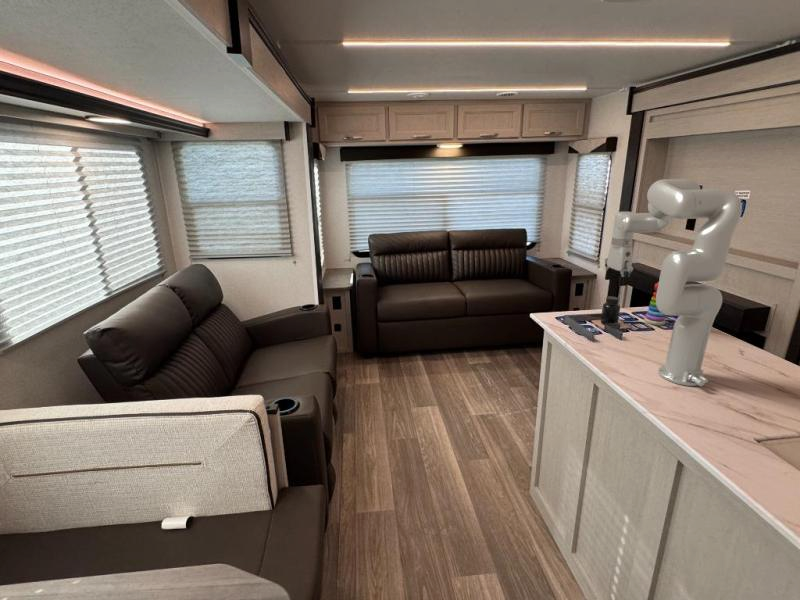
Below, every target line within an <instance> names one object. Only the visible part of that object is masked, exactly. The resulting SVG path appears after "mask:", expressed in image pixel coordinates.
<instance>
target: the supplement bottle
mask: <svg viewBox="0 0 800 600" xmlns="http://www.w3.org/2000/svg"><path fill="white" fill-rule="evenodd" d="M619 300H620V299H619V297H617V296H613V295H612V296H611V295H610V296H606V298H605V302H604V303H603V304H602V309H601V313H602V315H601V324H603V325H605V324H606V323H618V320H619V321H620V319H619V318H620V312H621V306H620V304H619V302H620V301H619Z"/></svg>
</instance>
